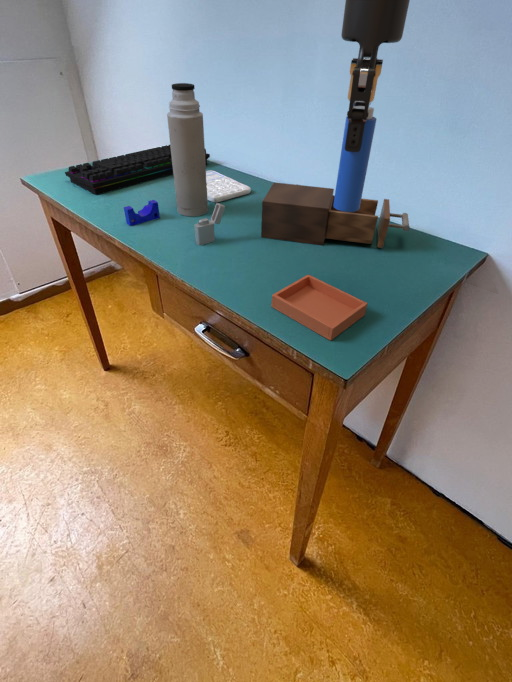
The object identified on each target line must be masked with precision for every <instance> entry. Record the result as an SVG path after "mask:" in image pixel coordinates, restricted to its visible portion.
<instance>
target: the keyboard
mask: <svg viewBox="0 0 512 682" xmlns="http://www.w3.org/2000/svg"><path fill="white" fill-rule="evenodd" d="M210 157H211V154H210V153H207V148H205V163H206V166H208V159H210ZM64 174H65V176H66V177H68V178H69V180H70V183H72V184H74V185H76V186H78V187H80V188H82V189H84V190H85V191H88V192H89V193H91V194H93V195H95V196H98V195H103V194H107V193H110V192H114V191H117V190H121V189H125V188H128V187H131V186H132V187H133V186H135V185H139V184H143V183H146V182H150V181H153V180H158V179H160V178H164V177H169V176H172V175H173V165H172V156H171V147H170V144H166V145H161V146H157V147H151V148H148V149H143V150H139V151H135V152H130V153H126V154H121V155H117V156H111V157H109V158H103V159H99V160H94V161H92V165H91V164H90V163H89V162H84V163H83V164H81V163H80V164H76V165H71V166H68V170H67V171H64Z"/></svg>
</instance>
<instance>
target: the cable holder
mask: <svg viewBox="0 0 512 682" xmlns="http://www.w3.org/2000/svg"><path fill="white" fill-rule="evenodd" d="M123 212H124V217H125V222H126V224H127V225H128V226H129V227H133V226H137V225H140V224H143V223H147V222H151V221H154V220H157V219H160V218H161V216H160V208H159V202H158V201H157V200H155V199H152V200H148V204H147V205H146V204H145V205H144V206H143V207H142V209H140V210H138V211H137V213H136V212H135V210H134V208H133V207H132V206H131V205H127V206H124V207H123Z"/></svg>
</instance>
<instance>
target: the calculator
mask: <svg viewBox="0 0 512 682" xmlns="http://www.w3.org/2000/svg"><path fill="white" fill-rule="evenodd" d="M206 183H207V199H208V202H211V203H220V202H223V201H228V200H231V199H235V198H240V197H242V196H246V195H249V194H250V193H251V191H252V189H251V187H250V186H248V185H246V184H244V183H241V182H240V181H237V180H235V179H233V178H231V177H229V176H226V175H225V174H222V173H220V172H217V171H215V170H206Z"/></svg>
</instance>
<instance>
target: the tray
mask: <svg viewBox="0 0 512 682" xmlns="http://www.w3.org/2000/svg"><path fill="white" fill-rule="evenodd" d="M368 304H369V303H368V302H366V301H364V300H362V299H360V298H358V297H355V296H353V295H352V294H349V293H348V292H346V291H343V290H341V289H339V288H337V287H336V286H333V285H331V284H329V283H327V282H325V281H323V280H321V279H319V278H317V277H315V276H312V275H310V274H306V275H304V276H303V277H301V278H300V279H297V280H296V281H294V282H292V283H291V284H289V285H287V286H285V287H284V288H281V289H280V290H278V291H277V292H275V293H273V294H272V295H271V308H273V309H274V310H276V311H278V312H280V313H281V314H283V315H285V316H286V317H288V318H290V319H292V320H293V321H295V322H297V323H299V324H301V325H302V326H304V327H306V328H307V329H308V330H311V331H312V332H314V333H316V334H318V335H319V336H321V337H323V338H324V339H327V340H328V341H330V342H331V341H333V340H334V339H335V338H337V337H338V336H339V335H341V334H342V333H343V332H344V331H346V330H347V329H349V328H350V327H352V326H353V325H354V324H355V323H357V322H358V321H359V320H361V319H362V318H363V317H365V315H366V312H367V308H368Z"/></svg>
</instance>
